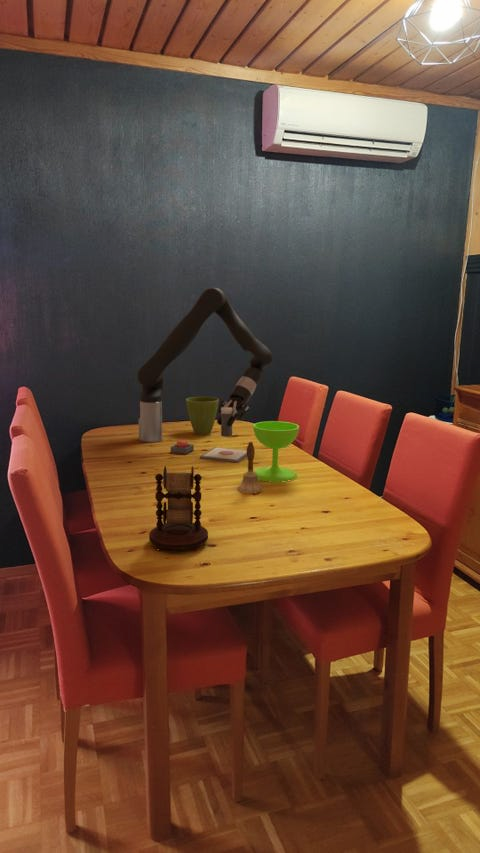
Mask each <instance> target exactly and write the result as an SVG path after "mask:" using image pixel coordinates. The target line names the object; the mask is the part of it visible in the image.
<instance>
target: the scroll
mask: <svg viewBox="0 0 480 853" xmlns="http://www.w3.org/2000/svg"><path fill="white" fill-rule="evenodd" d="M194 471H195V470H194V466H193V465H192V466H191V472H168V471H167V466H166V465H164V466H163V474H162V473H157V474H156V475H155V477H154V480H155V483H156V484H157V485H156V488H155V490H156V492H155V495H154V496H155V500H156V506H155V507H156V511H155V515H156V519H157V521H156V526H155V527H153V528H152V529H151V530H150V531H149V532H148V533H149V536H148V539H149V542H150V543H151V544H153V545H154V546H155V549H156V550H157V549H161V548H162V549H166V550H188V549H193V548H194V550H195V549H196V550H197V549H198V550H199V548H200V546H201V545H203V544H205V542H207V541H208V538H209V531H208V529H206V528H205V527H204V526H202V523H201V521H200V520H201V519H202V518H201V516H202V510H201V505H202V504H201V503H200V502H201V501H202V492H201V484H202V482H201V480H202V479H203V478H202V475H201V474H199V473H196V474H195V473H194ZM194 474H195V475H194ZM162 484H163V485H162ZM194 484H195V485H194ZM194 486H195V487H194ZM163 489H164V490H165V492H166V493H164V492H163ZM193 489H194V493H192V490H193ZM164 498H165V499H166V500H167V501H164V502H163V499H164ZM192 499H194V502H195V504H194V503H193V501H192ZM162 502H163V503H162ZM194 520H195V522H194ZM196 550H195V551H196ZM198 550H197V551H198Z"/></svg>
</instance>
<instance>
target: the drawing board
mask: <svg viewBox="0 0 480 853" xmlns="http://www.w3.org/2000/svg"><path fill="white" fill-rule="evenodd" d="M246 458H247V449H246V450H245V449H235V448H227V447H226V448H225V447H218V446H217V447H216V446H215V447H213V448H212V449H210V450H208V451H207V452H205V453H203V454H201V455H199V459H201V460H202V459H203V460H211V461H217V462H219V461H220V462H228V463H234V464H235V463H236V464H237V463H238V464H239V463H240V462H242V461H243V460H244V459H246Z"/></svg>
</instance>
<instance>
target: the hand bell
mask: <svg viewBox="0 0 480 853" xmlns="http://www.w3.org/2000/svg"><path fill="white" fill-rule="evenodd" d="M246 450H247V457H246V458H247V471H246V472H244V473H243V476H242V477H243V478H242V482H241V484H239V486H237V488H236V489H237V491H238V492H239V491H240V492H239V493H242V492H245V493H244V494H247V493H255V492H259V491H262V489H263V487H262V486H261V485H260V483H259V480H258V478H257V474H256V473H255V472H254V458H255V452H256V451H255V446H254V443H253V442H252V441H249V442H248V444H247V448H246ZM262 492H263V491H262ZM255 494H256V493H255Z"/></svg>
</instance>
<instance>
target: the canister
mask: <svg viewBox="0 0 480 853" xmlns="http://www.w3.org/2000/svg"><path fill="white" fill-rule="evenodd" d="M231 416H232V407H222V408H221V425H220V436H221V437H223V438H224V437H225V438H226V437H227V438H229V437H232V436H233V425H232V426H231V427H228V425H227V422H228V420H229V418H230V417H231Z"/></svg>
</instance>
